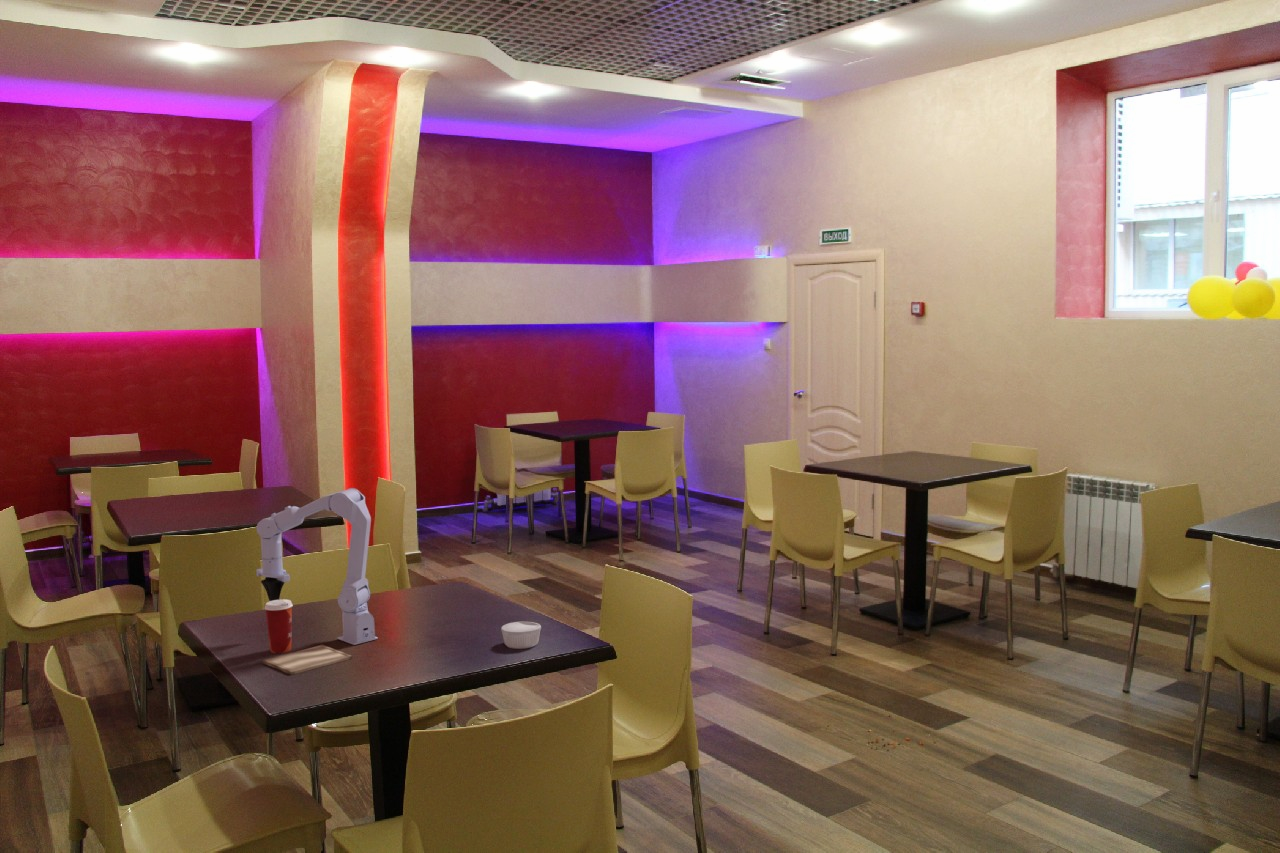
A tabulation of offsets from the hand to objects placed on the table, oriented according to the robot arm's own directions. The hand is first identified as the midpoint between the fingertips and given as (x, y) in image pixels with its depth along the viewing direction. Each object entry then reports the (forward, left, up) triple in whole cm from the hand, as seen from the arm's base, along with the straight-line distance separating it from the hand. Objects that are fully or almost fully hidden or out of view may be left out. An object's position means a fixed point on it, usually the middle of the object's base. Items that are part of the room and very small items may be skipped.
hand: (274, 602), depth 311 cm
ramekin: (-62, -43, -11) cm, 76 cm away
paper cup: (-13, +5, -11) cm, 18 cm away
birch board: (-28, +5, -11) cm, 31 cm away
